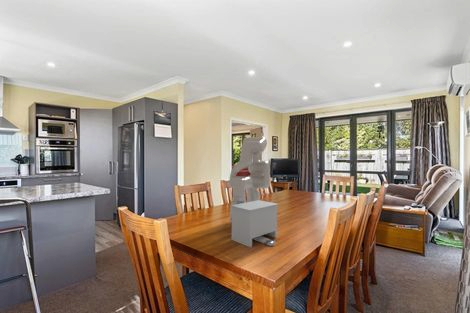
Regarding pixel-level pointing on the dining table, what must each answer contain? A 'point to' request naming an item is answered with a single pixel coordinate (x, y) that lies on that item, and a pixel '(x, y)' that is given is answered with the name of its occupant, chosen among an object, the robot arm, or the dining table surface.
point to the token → (270, 243)
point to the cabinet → (253, 221)
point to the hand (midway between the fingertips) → (238, 228)
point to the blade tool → (261, 239)
